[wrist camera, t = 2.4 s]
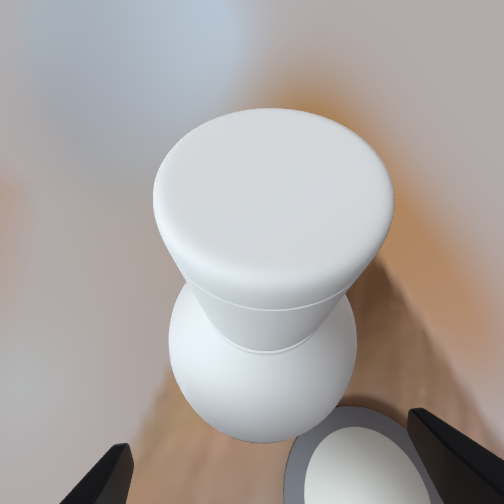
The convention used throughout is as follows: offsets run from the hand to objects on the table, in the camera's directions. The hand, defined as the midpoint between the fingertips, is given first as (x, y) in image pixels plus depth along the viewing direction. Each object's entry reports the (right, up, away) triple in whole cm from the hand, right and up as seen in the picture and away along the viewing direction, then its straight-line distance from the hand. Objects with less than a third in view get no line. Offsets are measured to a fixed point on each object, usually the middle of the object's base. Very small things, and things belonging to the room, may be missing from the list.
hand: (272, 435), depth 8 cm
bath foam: (0, -4, +12) cm, 13 cm away
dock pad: (+6, -10, +8) cm, 14 cm away
